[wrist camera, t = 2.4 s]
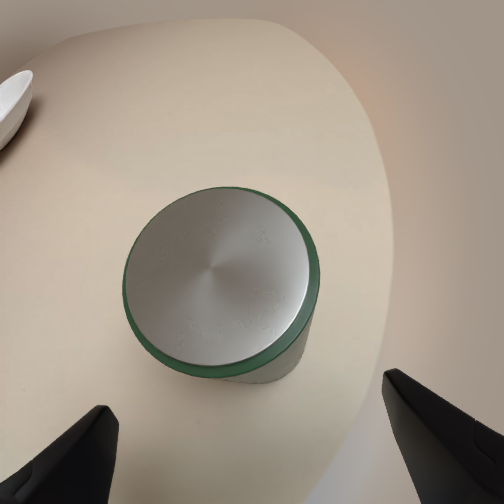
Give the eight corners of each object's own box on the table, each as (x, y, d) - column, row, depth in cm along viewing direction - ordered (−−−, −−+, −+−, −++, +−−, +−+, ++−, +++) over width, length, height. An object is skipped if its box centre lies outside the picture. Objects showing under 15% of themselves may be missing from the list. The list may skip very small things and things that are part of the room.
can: (322, 355, 19) (363, 307, 8) (238, 399, 19) (158, 412, 7) (277, 278, 22) (257, 153, 10) (199, 319, 21) (99, 235, 10)
